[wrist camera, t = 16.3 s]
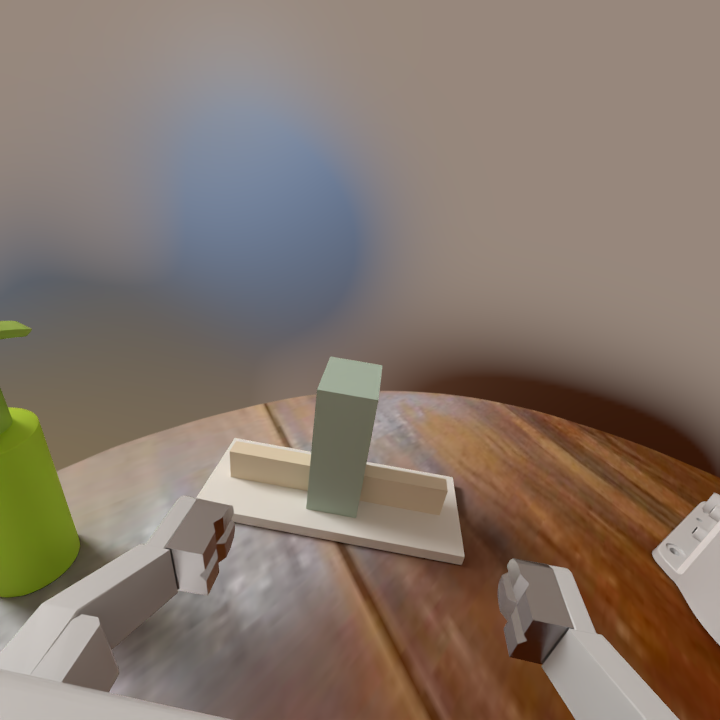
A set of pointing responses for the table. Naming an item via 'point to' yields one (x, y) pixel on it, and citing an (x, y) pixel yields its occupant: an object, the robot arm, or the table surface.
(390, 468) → the rail board
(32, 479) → the soap dispenser
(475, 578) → the table surface
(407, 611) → the table surface
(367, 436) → the tall rectangular block
